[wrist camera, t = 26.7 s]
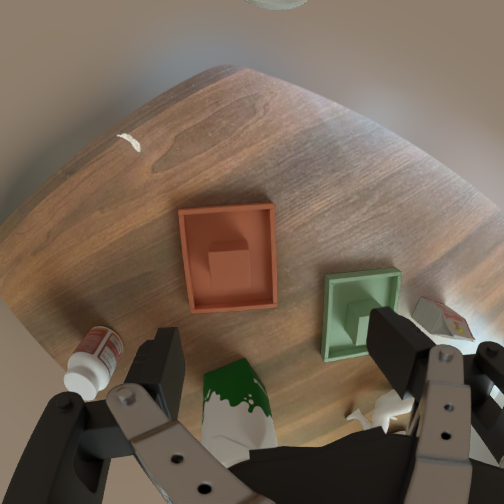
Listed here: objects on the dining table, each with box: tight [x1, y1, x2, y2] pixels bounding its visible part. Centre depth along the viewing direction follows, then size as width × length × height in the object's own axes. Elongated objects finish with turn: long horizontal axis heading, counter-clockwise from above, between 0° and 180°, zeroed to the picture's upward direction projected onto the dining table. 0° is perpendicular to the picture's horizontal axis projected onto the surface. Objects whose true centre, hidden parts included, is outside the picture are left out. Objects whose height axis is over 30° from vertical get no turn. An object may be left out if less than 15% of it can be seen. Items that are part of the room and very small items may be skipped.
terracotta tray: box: [178, 202, 278, 314], centre depth 37 cm, size 13×11×2 cm
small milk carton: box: [411, 297, 475, 342], centre depth 38 cm, size 4×7×10 cm, turn 71°
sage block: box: [345, 299, 382, 346], centre depth 39 cm, size 4×4×4 cm
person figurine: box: [346, 389, 414, 433], centre depth 42 cm, size 13×13×18 cm
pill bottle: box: [64, 326, 123, 400], centre depth 34 cm, size 6×6×11 cm
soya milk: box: [201, 358, 278, 468], centre depth 33 cm, size 9×9×20 cm
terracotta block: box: [208, 240, 251, 290], centre depth 35 cm, size 4×4×4 cm
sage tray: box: [321, 267, 402, 362], centre depth 40 cm, size 13×11×2 cm
